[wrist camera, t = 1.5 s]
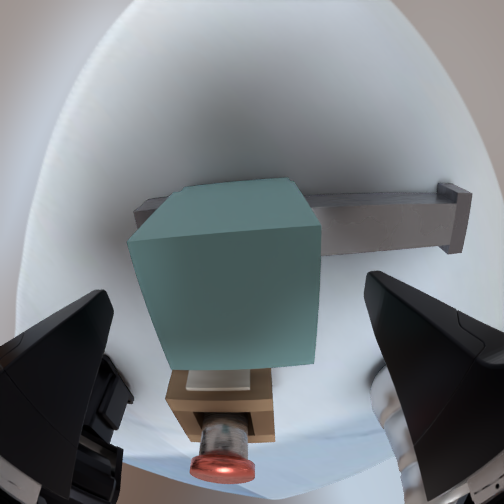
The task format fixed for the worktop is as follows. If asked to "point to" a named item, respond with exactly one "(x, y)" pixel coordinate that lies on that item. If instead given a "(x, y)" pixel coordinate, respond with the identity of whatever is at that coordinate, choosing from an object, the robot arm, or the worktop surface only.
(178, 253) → the carriage
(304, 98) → the worktop surface
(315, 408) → the worktop surface
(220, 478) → the button
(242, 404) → the brown button housing
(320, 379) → the worktop surface
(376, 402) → the plastic bottle
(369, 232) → the rail
